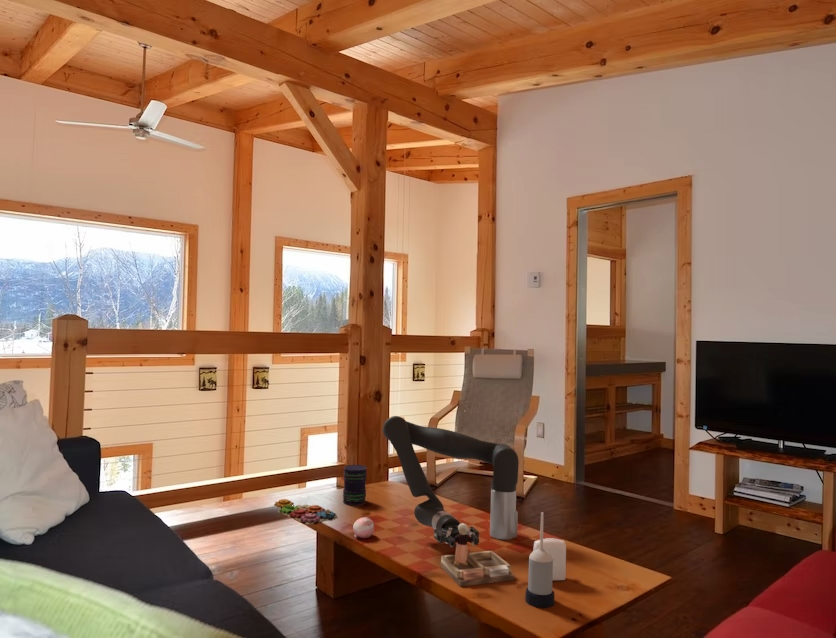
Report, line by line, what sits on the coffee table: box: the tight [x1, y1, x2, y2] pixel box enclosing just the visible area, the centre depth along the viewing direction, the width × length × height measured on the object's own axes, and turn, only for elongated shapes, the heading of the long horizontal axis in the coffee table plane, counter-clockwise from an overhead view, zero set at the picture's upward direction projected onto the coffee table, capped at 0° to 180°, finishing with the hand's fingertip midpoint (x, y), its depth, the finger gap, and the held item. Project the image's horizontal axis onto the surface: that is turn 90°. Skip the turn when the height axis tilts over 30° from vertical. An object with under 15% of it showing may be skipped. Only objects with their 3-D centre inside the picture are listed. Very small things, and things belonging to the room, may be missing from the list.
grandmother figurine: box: [449, 522, 476, 565], centre depth 192 cm, size 8×4×13 cm, turn 105°
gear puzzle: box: [273, 498, 338, 526], centre depth 250 cm, size 31×16×4 cm, turn 45°
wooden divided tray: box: [439, 550, 515, 588], centre depth 193 cm, size 18×16×4 cm
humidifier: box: [524, 512, 555, 609], centre depth 174 cm, size 8×8×25 cm
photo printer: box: [532, 537, 567, 581], centre depth 190 cm, size 10×4×12 cm, turn 96°
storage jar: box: [342, 464, 367, 506], centre depth 266 cm, size 10×10×15 cm
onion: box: [352, 516, 375, 540], centre depth 223 cm, size 8×8×7 cm
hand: (466, 542), depth 190 cm, fingers closed on grandmother figurine, 7 cm apart
